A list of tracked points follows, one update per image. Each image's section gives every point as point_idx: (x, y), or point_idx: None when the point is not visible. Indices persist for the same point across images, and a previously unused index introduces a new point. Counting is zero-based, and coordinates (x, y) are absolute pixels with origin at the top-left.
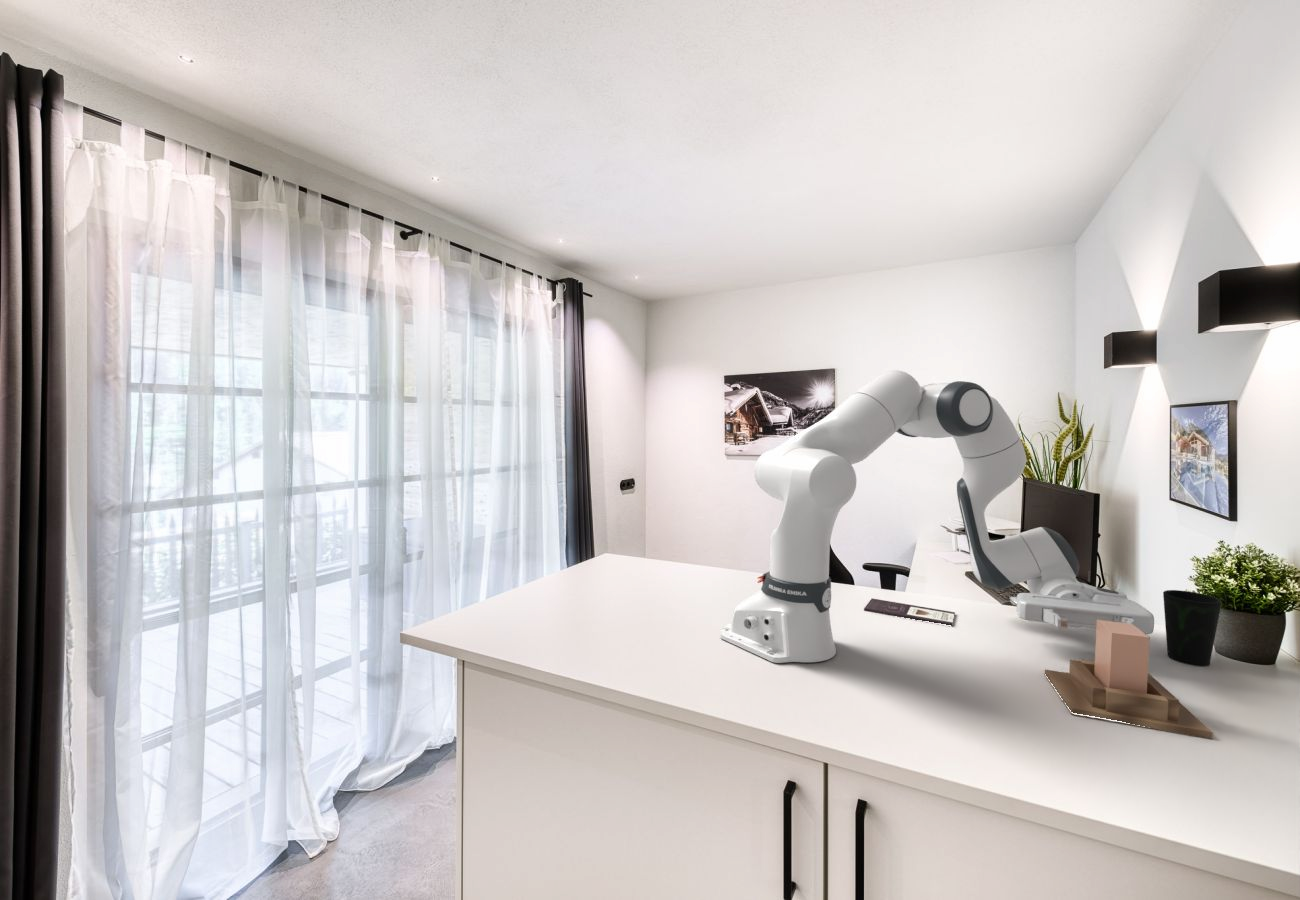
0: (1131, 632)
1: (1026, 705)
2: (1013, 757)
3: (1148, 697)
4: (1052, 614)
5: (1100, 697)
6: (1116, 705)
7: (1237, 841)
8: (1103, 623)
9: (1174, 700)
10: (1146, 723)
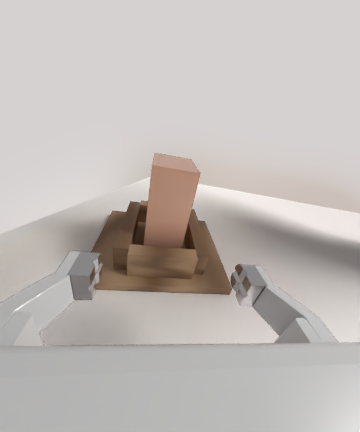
0: (168, 157)
1: (232, 231)
2: (228, 198)
3: None
4: (282, 291)
5: None
6: None
7: None
8: (193, 168)
9: (133, 202)
10: None
